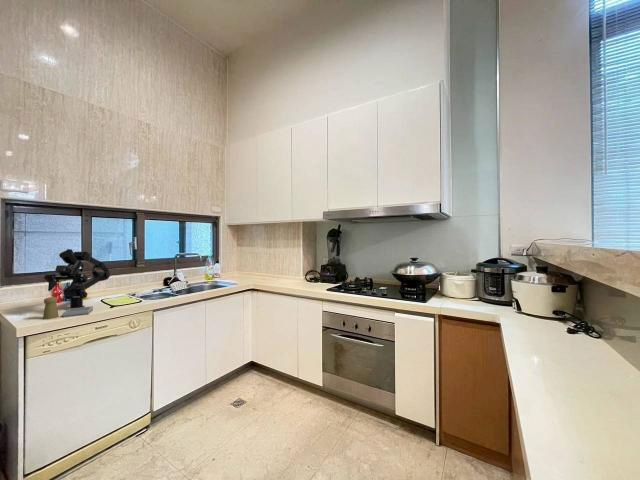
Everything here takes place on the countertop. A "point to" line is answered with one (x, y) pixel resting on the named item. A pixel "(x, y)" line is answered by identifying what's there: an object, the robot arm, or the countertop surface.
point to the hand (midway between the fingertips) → (58, 290)
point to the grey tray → (78, 311)
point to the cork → (50, 308)
